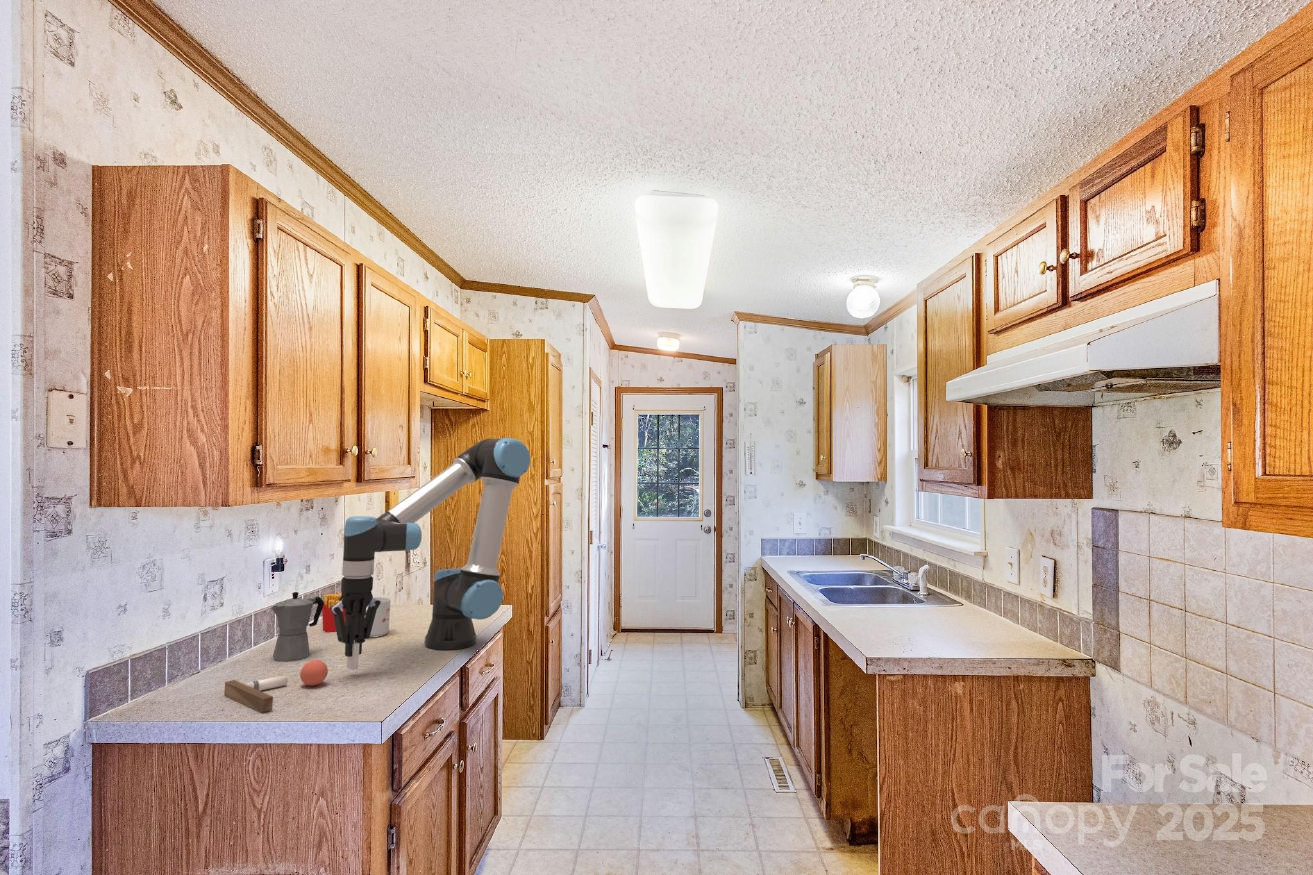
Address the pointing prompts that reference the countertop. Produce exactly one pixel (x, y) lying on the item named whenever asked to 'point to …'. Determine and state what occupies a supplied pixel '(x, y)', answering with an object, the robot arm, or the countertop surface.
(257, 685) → the pin
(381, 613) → the mug
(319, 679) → the ball
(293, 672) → the countertop surface
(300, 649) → the coffeepot
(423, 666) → the countertop surface
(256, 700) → the long wooden block
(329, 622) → the french fries
